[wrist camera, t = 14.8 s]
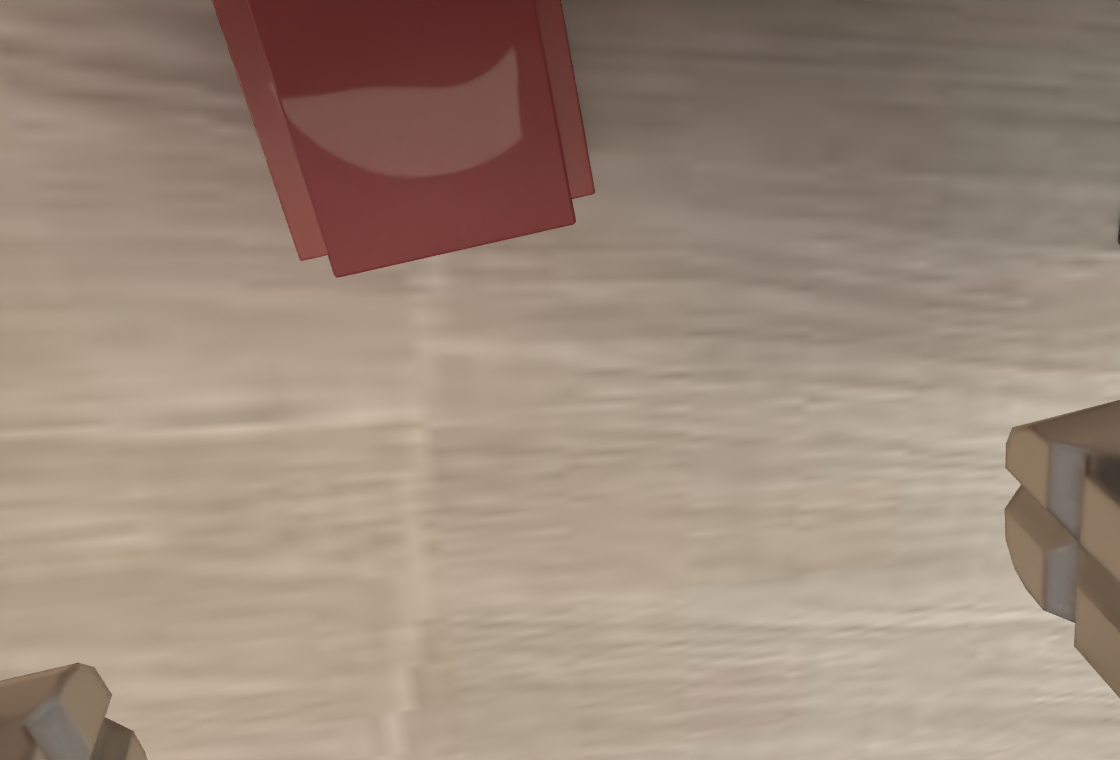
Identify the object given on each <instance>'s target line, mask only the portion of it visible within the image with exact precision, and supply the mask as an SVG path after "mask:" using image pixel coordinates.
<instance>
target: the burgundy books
mask: <svg viewBox="0 0 1120 760" xmlns="http://www.w3.org/2000/svg"><path fill="white" fill-rule="evenodd" d="M212 2H213V5H214V8H215V11H216V14H217V17H218V20H219V23H220V26H221V29H222V32H223V35H224V37H225V40H226V43H227V46H228V49H229V52H230V55H231V58H232V61H233V64H234V67H235V70H236V73H237V76H238V79H239V82H240V85H241V88H242V91H243V94H244V96H245V99H246V102H247V105H248V108H249V111H250V114H251V117H252V120H253V123H254V126H255V129H256V132H257V135H258V138H259V141H260V144H261V147H262V150H263V153H264V155H265V158H266V161H267V164H268V167H269V170H270V173H271V176H272V179H273V182H274V185H275V188H276V191H277V194H278V197H279V200H280V203H281V206H282V209H283V212H284V214H285V217H286V220H287V223H288V226H289V229H290V232H291V235H292V238H293V241H294V244H295V247H296V250H297V253H298V256H299V259H300V260H301V261H303V260H308V259H312V258H316V257H321V256H325V255H328V254H327V251H326V248H325V245H324V242H323V238H322V235H321V232H320V229H319V226H318V223H317V220H316V217H315V213H314V210H313V207H312V204H311V201H310V198H309V195H308V192H307V188H306V185H305V182H304V179H303V176H302V173H301V170H300V166H299V163H298V160H297V157H296V154H295V151H294V148H293V145H292V141H291V138H290V135H289V132H288V129H287V126H286V123H285V120H284V116H283V113H282V110H281V107H280V104H279V101H278V98H277V94H276V91H275V88H274V85H273V82H272V79H271V76H270V73H269V69H268V66H267V63H266V60H265V57H264V54H263V51H262V48H261V44H260V41H259V38H258V35H257V32H256V29H255V26H254V23H253V19H252V16H251V13H250V10H249V7H248V4H247V1H246V0H212ZM535 4H536V9H537V15H538V20H539V26H540V31H541V36H542V42H543V47H544V52H545V58H546V63H547V68H548V74H549V79H550V85H551V90H552V95H553V101H554V106H555V111H556V117H557V122H558V127H559V133H560V138H561V143H562V149H563V154H564V160H565V165H566V170H567V176H568V181H569V186H570V192H571V197H572V199H575V198H579V197H583V196H588V195H592V194H594V193H595V189H594V183H593V178H592V172H591V166H590V161H589V155H588V149H587V144H586V138H585V133H584V127H583V121H582V116H581V110H580V104H579V99H578V93H577V88H576V82H575V76H574V71H573V65H572V60H571V54H570V48H569V43H568V37H567V31H566V26H565V20H564V15H563V9H562V3H561V0H535Z"/></svg>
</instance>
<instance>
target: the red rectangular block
mask: <svg viewBox="0 0 1120 760" xmlns="http://www.w3.org/2000/svg"><path fill="white" fill-rule="evenodd" d="M246 1H247V4H248V7H249V10H250V13H251V16H252V19H253V23H254V26H255V29H256V32H257V35H258V38H259V41H260V44H261V48H262V51H263V54H264V57H265V60H266V63H267V66H268V69H269V73H270V76H271V79H272V82H273V85H274V88H275V91H276V94H277V98H278V101H279V104H280V107H281V110H282V113H283V116H284V120H285V123H286V126H287V129H288V132H289V135H290V138H291V141H292V145H293V148H294V151H295V154H296V157H297V160H298V163H299V166H300V170H301V173H302V176H303V179H304V182H305V185H306V188H307V192H308V195H309V198H310V201H311V204H312V207H313V210H314V213H315V217H316V220H317V223H318V226H319V229H320V232H321V235H322V238H323V242H324V245H325V248H326V251H327V254H328V257H329V260H330V264H331V267H332V270H333V273H334V275H335V277H343V276H347V275H352V274H356V273H360V272H365V271H369V270H374V269H378V268H383V267H387V266H391V265H396V264H400V263H405V262H409V261H414V260H418V259H422V258H427V257H431V256H436V255H440V254H445V253H449V252H453V251H458V250H462V249H467V248H471V247H475V246H480V245H484V244H489V243H493V242H498V241H502V240H506V239H511V238H515V237H520V236H524V235H529V234H533V233H537V232H542V231H546V230H551V229H555V228H560V227H564V226H568V225H573V224H575V222H576V218H575V213H574V208H573V202H572V197H571V192H570V186H569V181H568V176H567V170H566V165H565V160H564V154H563V149H562V143H561V138H560V133H559V127H558V122H557V117H556V111H555V106H554V101H553V95H552V90H551V85H550V79H549V74H548V68H547V63H546V58H545V52H544V47H543V42H542V36H541V31H540V26H539V20H538V15H537V9H536V4H535V0H246Z"/></svg>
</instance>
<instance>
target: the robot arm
mask: <svg viewBox="0 0 1120 760" xmlns="http://www.w3.org/2000/svg"><path fill="white" fill-rule="evenodd" d="M1005 468H1006V469H1007V470H1008V471H1009V472H1010V473H1011V474H1012V475H1013V476H1014V477H1015V478H1016V479H1017V480H1018V481H1019V482H1020V483H1021V486H1020V487H1019V489H1018V490H1017V492H1016V493H1015V495H1014V496H1013V497H1012V499H1011V500H1010V502H1009V503H1008V505H1007V506H1006V508H1005V537H1006V542H1007V546H1008V549H1009V552H1010V555H1011V559H1012V562H1013V565H1014V568H1015V570H1016V572H1017V574H1018V576H1019V577H1020V579H1021V581H1022V583H1023V584H1024V586H1025V588H1026V590H1027V591H1028V592H1029V593H1030V595H1031V596H1032V597H1033V598H1034V599H1035V601H1036V602H1037V603H1038V604H1039V606H1040V607H1041V608H1042V609H1043V610H1044V611H1047V612H1049V613H1052V614H1054V615H1057V616H1059V617H1062V618H1064V619H1067V620H1069V621H1072V622H1074V623H1075V638H1074V646H1075V648H1076V649H1077V650H1078V651H1079V652H1080V653H1081V654H1082V656H1083V657H1084V658H1085V659H1086V660H1087V661H1088V662H1089V664H1090V665H1091V666H1092V667H1093V668H1094V669H1095V670H1096V672H1097V673H1098V674H1099V675H1100V676H1101V677H1102V678H1103V680H1104V681H1105V682H1106V683H1107V684H1108V685H1109V686H1110V688H1111V689H1112V690H1113V691H1114V692H1115V693H1116V694H1117V696H1118V697H1119V698H1120V400H1117V401H1113V402H1110V403H1106V404H1102V405H1098V406H1094V407H1090V408H1086V409H1082V410H1079V411H1075V412H1071V413H1067V414H1063V415H1059V416H1055V417H1051V418H1047V419H1044V420H1040V421H1036V422H1032V423H1028V424H1024V425H1020V426H1016V427H1012V430H1011V432H1010V435H1009V437H1008V440H1007V443H1006V462H1005ZM111 696H112V694H111V692H110V691H109V689H108V688H107V686H106V685H105V683H104V682H103V680H102V678H101V677H100V675H99V674H98V672H97V671H96V669H95V668H94V667H92V666H88V665H84V664H80V663H75V664H71V665H67V666H62V667H58V668H54V669H49V670H45V671H40V672H36V673H32V674H27V675H23V676H19V677H14V678H10V679H6V680H1V681H0V760H147V757H146V754H145V751H144V749H143V747H142V746H141V744H140V742H139V740H138V739H137V737H136V735H135V733H134V731H132V730H130V729H128V728H126V727H124V726H122V725H120V724H118V723H116V722H114V721H112V720H110V719H107V718H105V715H106V712H107V709H108V706H109V703H110V699H111Z"/></svg>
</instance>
